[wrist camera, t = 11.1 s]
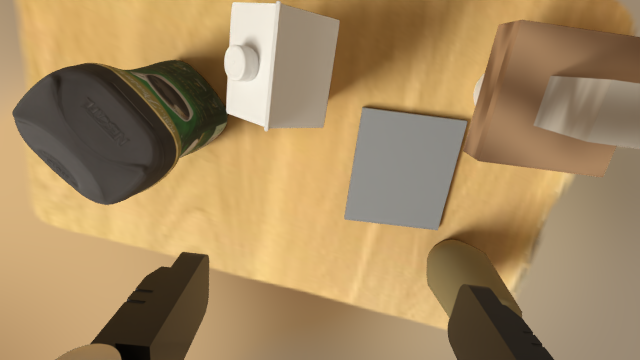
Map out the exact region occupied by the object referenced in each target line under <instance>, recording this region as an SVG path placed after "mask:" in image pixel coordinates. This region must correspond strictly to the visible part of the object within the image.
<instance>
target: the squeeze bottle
mask: <svg viewBox="0 0 640 360" xmlns="http://www.w3.org/2000/svg"><path fill="white" fill-rule="evenodd" d="M427 282H428V286H429V287H430V289H431V290H432V292H433V293H434V295H435V297H436V298H437V300H438V301H439V303H440V304H441V306H442V307H443V309H444V310H445V312H446V313H447V315H448V316H449V318H450V316H451V313H452V310H453V307H454V303H455V300H456V297H457V294H458V291H459V288H460V287H461V285H463V284H468V285H477V286H486V287H489V288H490V289H491V290H492V291H493V292H494V294H495V295H496V296H497V298H498V299H499V300H500V302H501V303H502V304H503V305H506V306H508V307H509V308H510V309H511V310H512V311H514V312H515V313H516V314H517V315H519V316H520V317H521V318H522V311H521V310H520V308H519V306H518V305H517V303H516V301H515V300H514V298H513V297H512V295H511V293H510V292H509V290H508V289H507V287H506V286H505V284H504V282H503V281H502V279H501V278H500V276H499V274H498V273H497V271H496V270H495V268H494V266H493V265H492V263H491V262H490V260H489V258H488V257H487V255H486V254H485V253H483V252H482V251H480V250H479V249H477V248H475V247H473V246H471V245H468V244H466V243H464V242H462V241H458V240H446V241H442V242H440V243H439V244H437V245H435V246H434V247H433V249H432V250H431V251H430V252H429V255H428V258H427Z"/></svg>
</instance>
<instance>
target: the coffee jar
mask: <svg viewBox="0 0 640 360" xmlns="http://www.w3.org/2000/svg"><path fill="white" fill-rule="evenodd" d="M13 116H14V118H15V123H16V126H17V128H18V131H19V132H20V135H21V136H22V138H23V139H24V141H25V142H26V143H27V145H28V146H29V147H30V148H31V149H32V150H33V151H34V152H35V153H36V154H37V155H38V156H39V157H40V158H41V159H42V160H43V161H44V162H45V163H46V164H47V165H48V166H49V167H50V168H51V169H52V170H53V171H54V172H56V173H57V174H58V175H59V176H60V177H61V178H62V179H64V180H65V181H66V182H67V183H68V184H69V185H71V186H72V187H73V188H74V189H75V190H76V191H78V192H79V193H80V194H81V195H83V196H84V197H86V198H88V199H90V200H92V201H94V202H96V203H100V204H104V205H110V204H115V203H118V202H121V201H123V200H126V199H128V198H129V197H131V196H133V195H135V194H138V193H140V192H143V191H145V190H147V189H149V188H151V187H152V186H154V185H156V184H157V183H158V182H160V181H161V180H162V179H163V178H164V177H166V176H167V175H168V174H169V172H170V171H171V170H172V169H173V168H174V166H175V165H176V163H177V162H178V160H179V158H181V157H183V156H185V155H188V154H190V153H193V152H195V151H197V150H199V149H201V148H203V147H204V146H206V145H207V144H209V143H210V142H211V141H213V140H214V139H215V138H216V137H217V136H218V135H219V134H220V133H221V132H222V131H223V130H224V128H225V126H226V124H227V112H226V109H225V106H224V105H223V103H222V101H221V100H220V98H219V97H218V96H217V94H216V93H215V91H214V90H213V89H212V88H211V87H210V85H209V84H208V83H207V82H206V81H205V80H204V78H203V77H202V76H201V75H200V74H199V73H198V72H196V71H195V70H194V69H193V68H192V67H191V66H190V65H188V64H186V63H184V62H182V61H177V60H170V61H164V62H159V63H156V64H152V65H149V66H146V67H142V68H138V69H132V70H121V69H118V68H114V67H111V66H108V65H104V64H98V63H84V64H80V65H76V66H70V67H65V68H62V69H60V70H57V71H55V72H52V73H51V74H49V75H47V76H45V77H44V78H43V79H41V80H40V81H39V82H37V83H36V84H35V85H34V86H33V87H32V88H31V89H30V90H29V91H28V92H27V93H26V94H25V95H24V96H23V98H22V99H21V100H20V101H19V103H18V104H17V106H16V107H15V109H14V110H13Z"/></svg>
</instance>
